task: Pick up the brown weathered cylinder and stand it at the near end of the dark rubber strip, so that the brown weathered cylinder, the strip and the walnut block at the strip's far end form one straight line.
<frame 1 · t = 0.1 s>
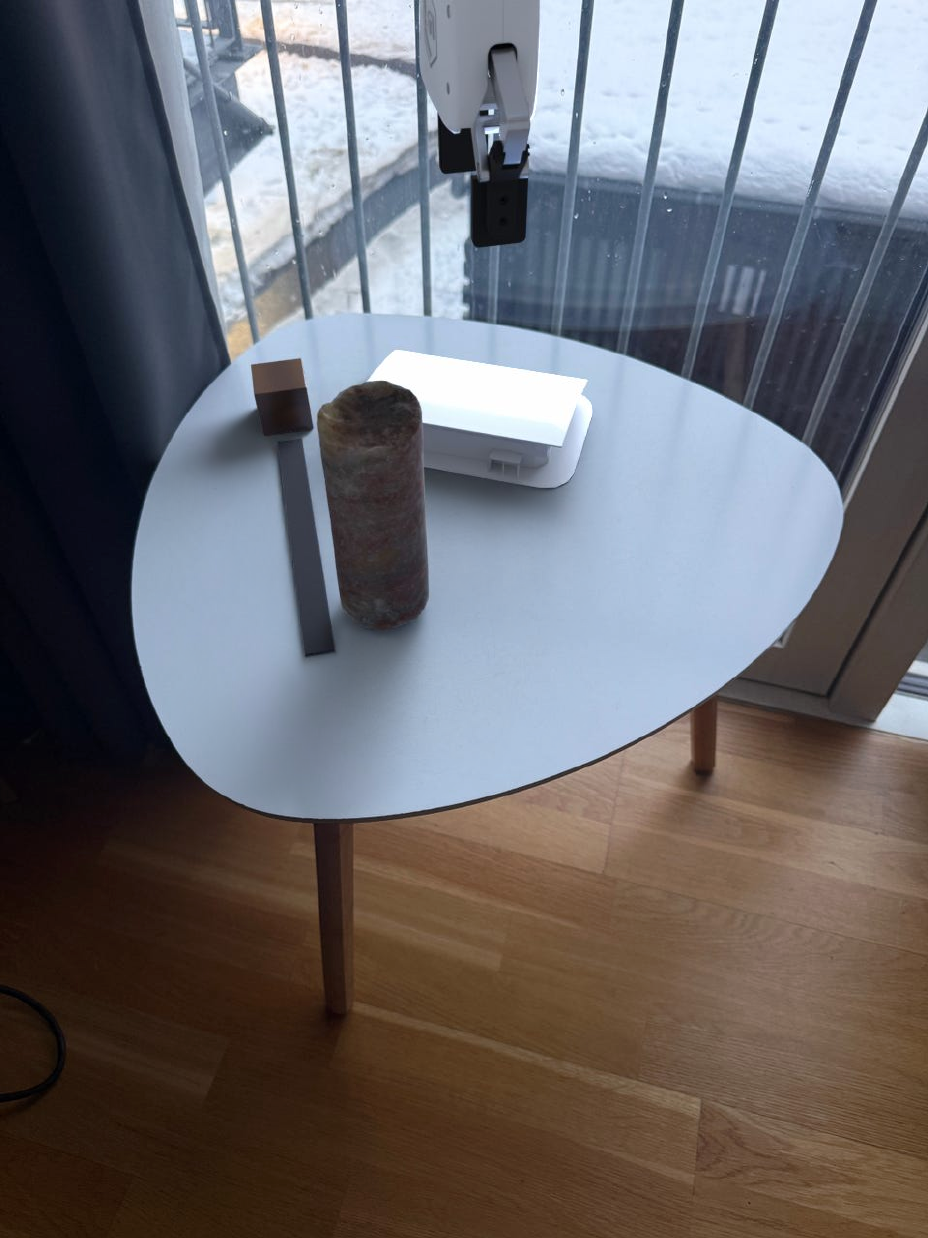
hand: (479, 204, 57), 30 cm above the table, tool pointing down, fingers open, 9 cm apart
brown weathered cylinder: (387, 606, 76), on the table
walnut block: (286, 417, 92), on the table
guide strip: (303, 537, 81), on the table
white flat lidded device: (470, 424, 91), on the table
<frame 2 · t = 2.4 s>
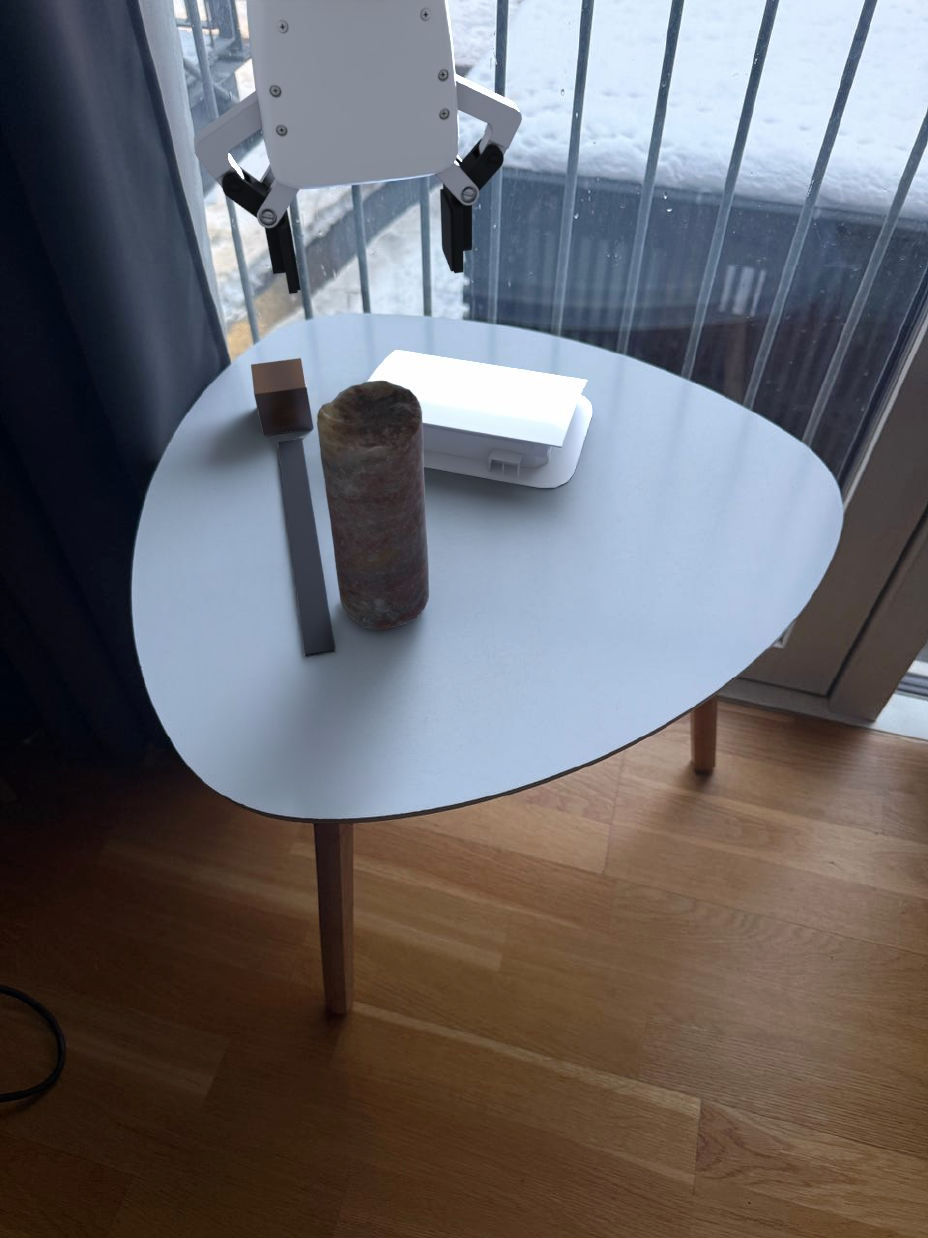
hand: (373, 271, 54), 29 cm above the table, tool pointing down, fingers open, 9 cm apart
nothing on the table moved.
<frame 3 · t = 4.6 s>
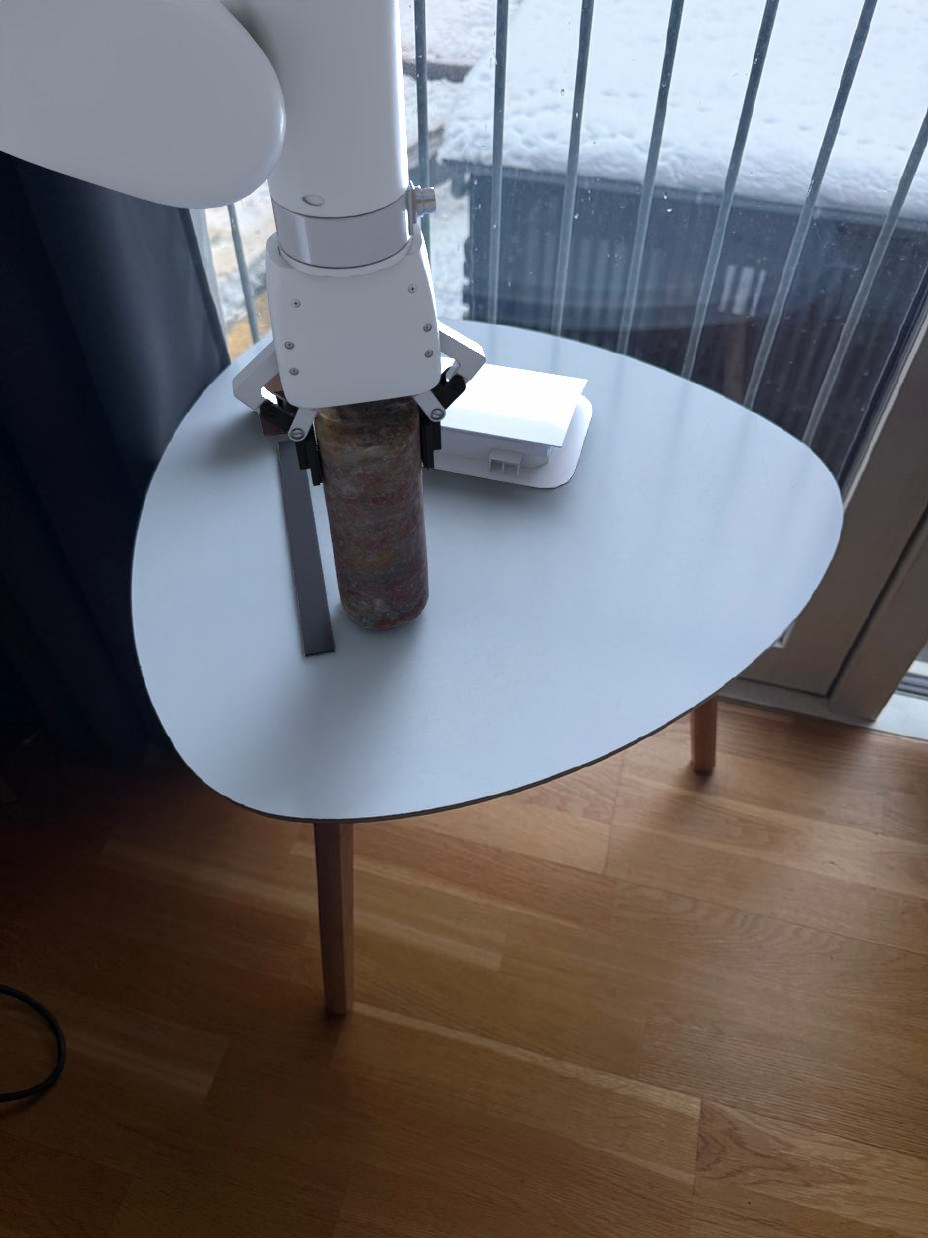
hand: (371, 463, 64), 15 cm above the table, tool pointing down, fingers closed on brown weathered cylinder, 7 cm apart
brown weathered cylinder: (387, 606, 76), on the table, touching gripper
everything else where it was.
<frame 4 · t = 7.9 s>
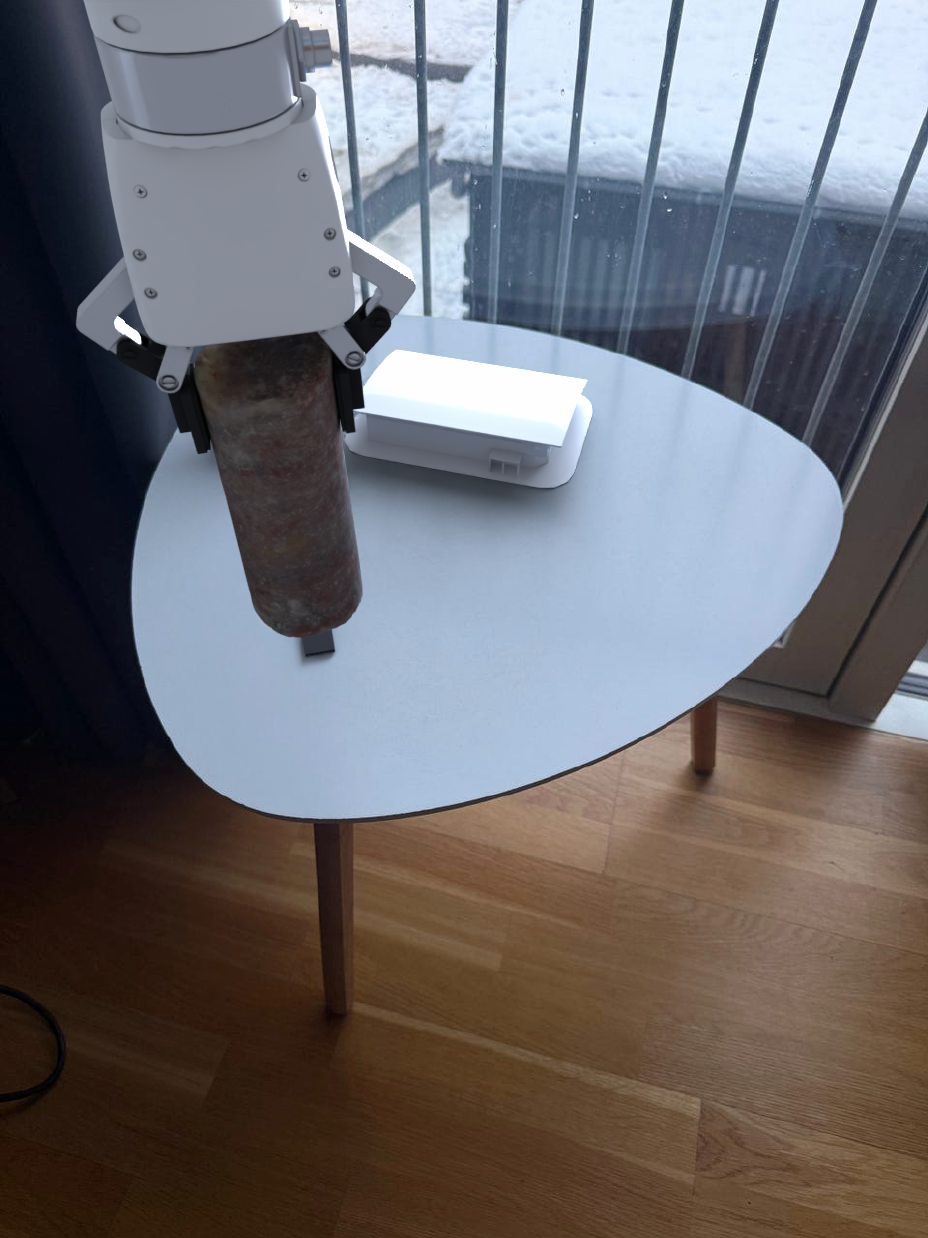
hand: (275, 425, 50), 26 cm above the table, tool pointing down, fingers closed on brown weathered cylinder, 7 cm apart
brown weathered cylinder: (312, 608, 62), point 10 cm above the table, touching gripper
everything else where it was.
when the fingers open (15 cm above the table, at t = 11.4 s): brown weathered cylinder stays where it is, on the table.
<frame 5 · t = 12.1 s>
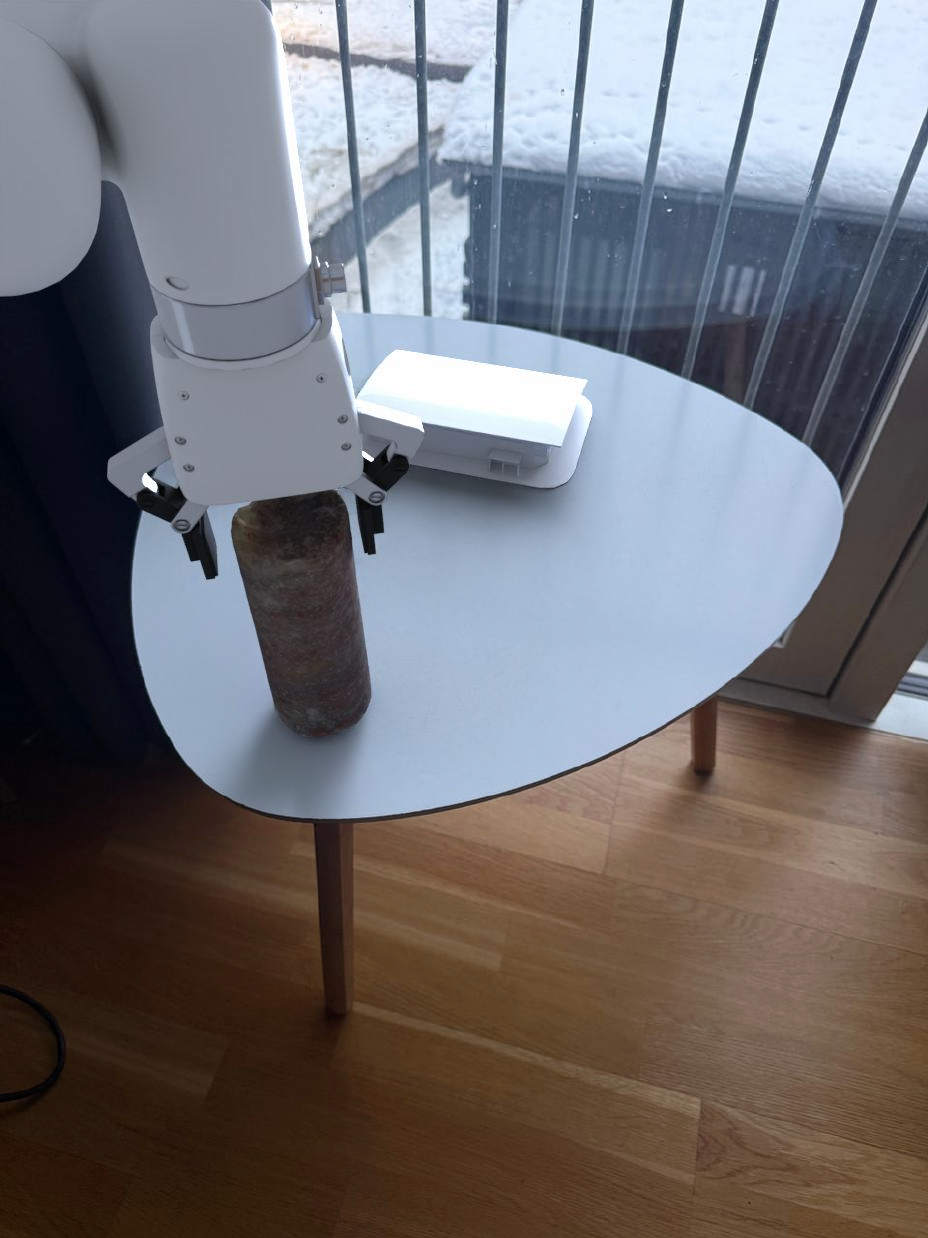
hand: (290, 550, 56), 17 cm above the table, tool pointing down, fingers open, 9 cm apart
brown weathered cylinder: (326, 706, 69), on the table
everything else where it was.
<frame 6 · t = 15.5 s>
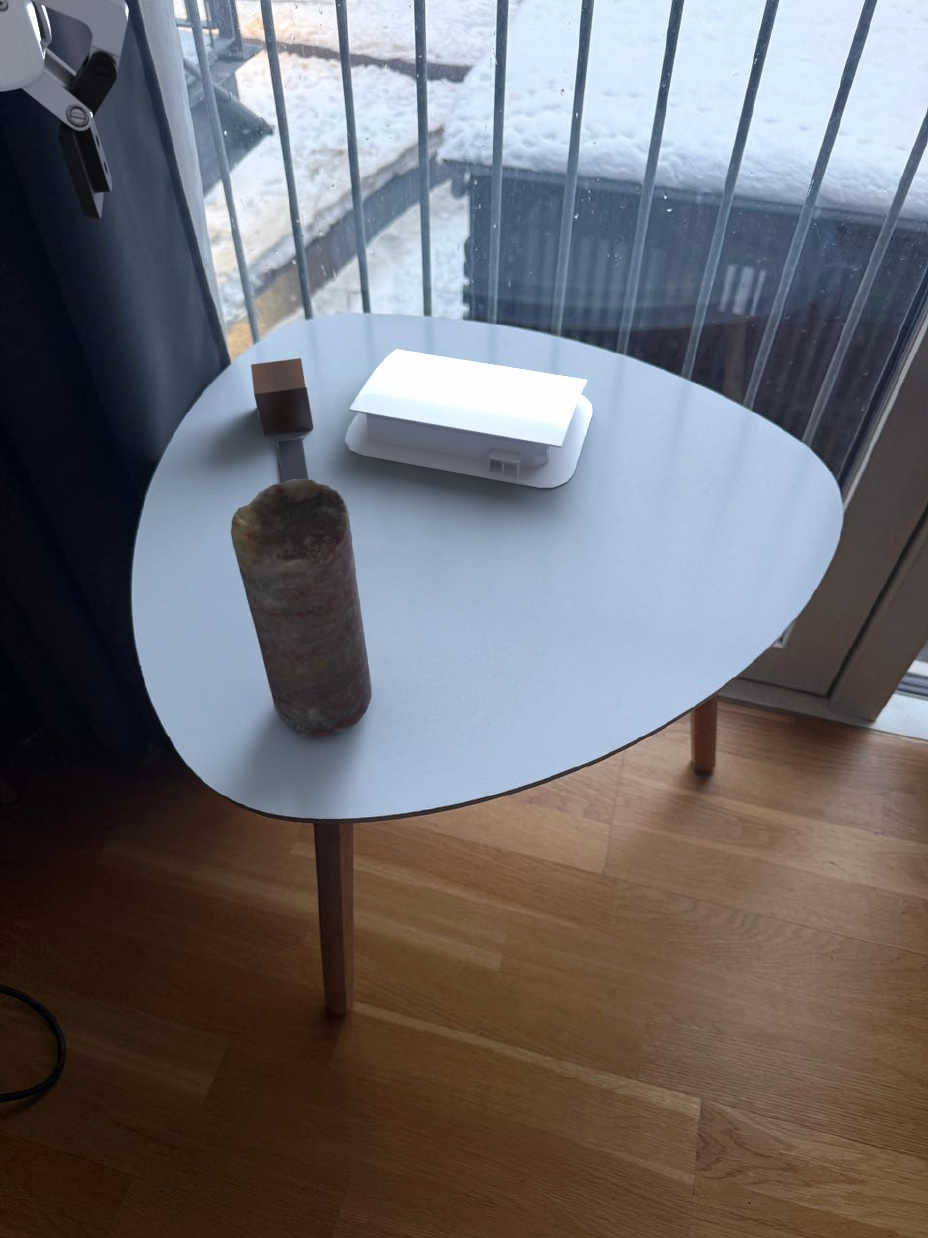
nothing on the table moved.
at the end: brown weathered cylinder 0.1 cm from the target spot on the table beside the walnut block, on the table; brown weathered cylinder tilted 0° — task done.
